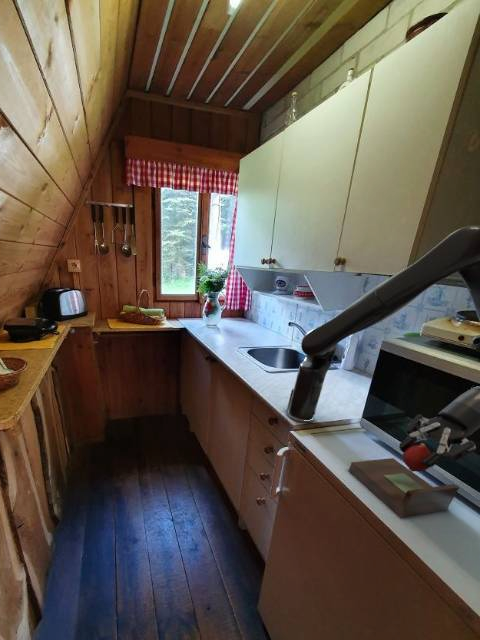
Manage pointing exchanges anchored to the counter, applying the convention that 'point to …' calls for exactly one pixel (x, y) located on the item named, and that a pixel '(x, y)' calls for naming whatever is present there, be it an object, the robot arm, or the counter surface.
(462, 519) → the counter surface
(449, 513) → the counter surface
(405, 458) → the red pomegranate
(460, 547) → the counter surface
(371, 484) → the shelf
